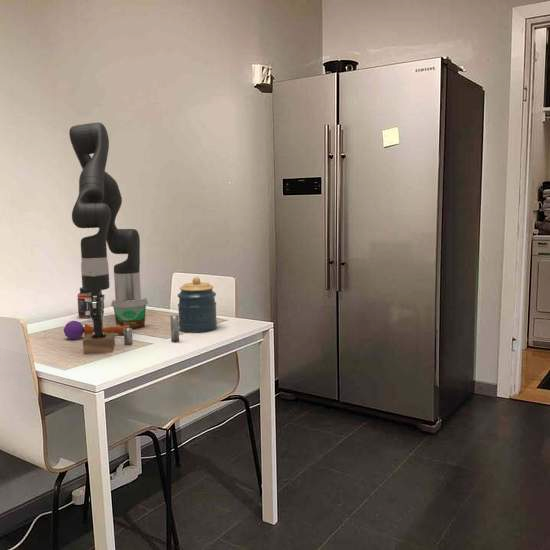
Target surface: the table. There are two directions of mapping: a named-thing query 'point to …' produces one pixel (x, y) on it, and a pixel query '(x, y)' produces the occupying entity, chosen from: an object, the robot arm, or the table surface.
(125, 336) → the short pin
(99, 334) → the long pin
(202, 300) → the canister
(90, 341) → the hole block
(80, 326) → the kendama
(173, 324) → the medium pin
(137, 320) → the food container
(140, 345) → the table surface
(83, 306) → the supplement bottle
